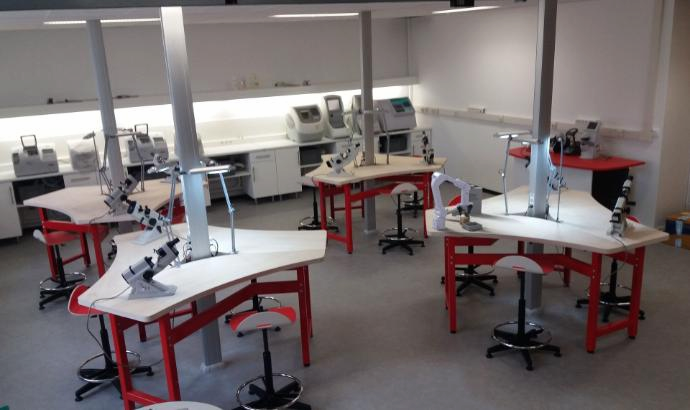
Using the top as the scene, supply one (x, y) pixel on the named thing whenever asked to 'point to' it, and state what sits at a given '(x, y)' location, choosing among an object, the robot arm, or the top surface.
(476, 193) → the grey upright panel
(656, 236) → the top surface
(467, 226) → the tray
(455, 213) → the gun
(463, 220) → the walnut block
